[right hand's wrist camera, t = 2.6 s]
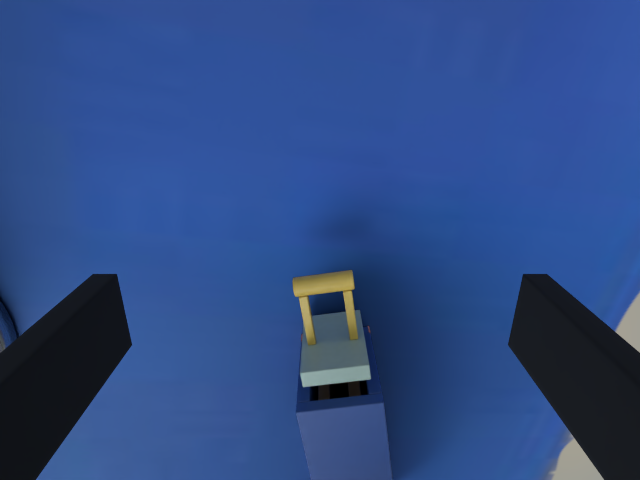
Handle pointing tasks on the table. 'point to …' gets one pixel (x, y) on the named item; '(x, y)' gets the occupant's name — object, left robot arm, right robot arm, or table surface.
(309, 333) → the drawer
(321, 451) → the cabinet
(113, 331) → the right robot arm
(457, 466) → the table surface
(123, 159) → the table surface
